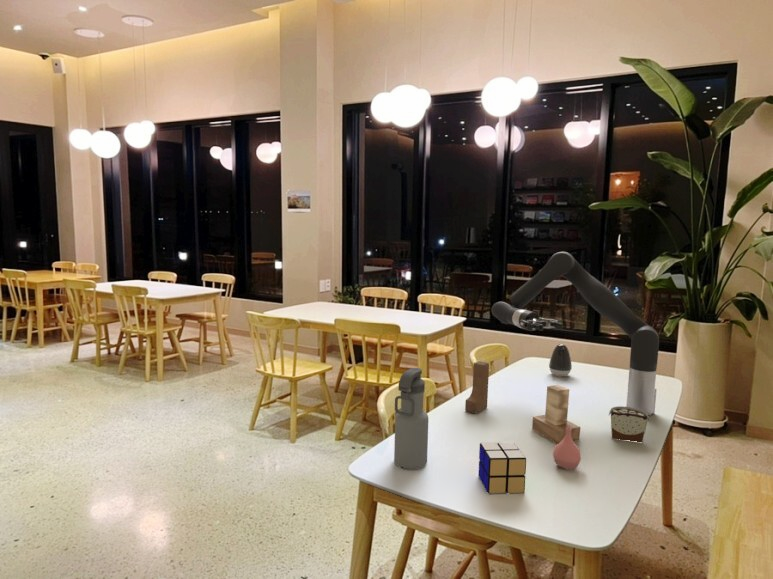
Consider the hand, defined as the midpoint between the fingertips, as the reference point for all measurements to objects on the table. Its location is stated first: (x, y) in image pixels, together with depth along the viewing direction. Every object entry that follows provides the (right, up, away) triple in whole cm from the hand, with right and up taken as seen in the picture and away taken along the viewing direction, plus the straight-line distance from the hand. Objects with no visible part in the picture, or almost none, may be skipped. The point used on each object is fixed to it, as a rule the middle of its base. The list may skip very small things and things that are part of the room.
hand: (552, 327), depth 186 cm
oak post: (-3, -31, -13) cm, 34 cm away
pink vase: (-8, -39, -36) cm, 53 cm away
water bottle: (-54, -38, -35) cm, 74 cm away
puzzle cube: (-29, -40, -47) cm, 68 cm away
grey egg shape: (+23, -27, +59) cm, 69 cm away
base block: (-3, -36, -12) cm, 38 cm away
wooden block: (-26, -33, +10) cm, 43 cm away
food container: (+20, -36, -14) cm, 44 cm away
